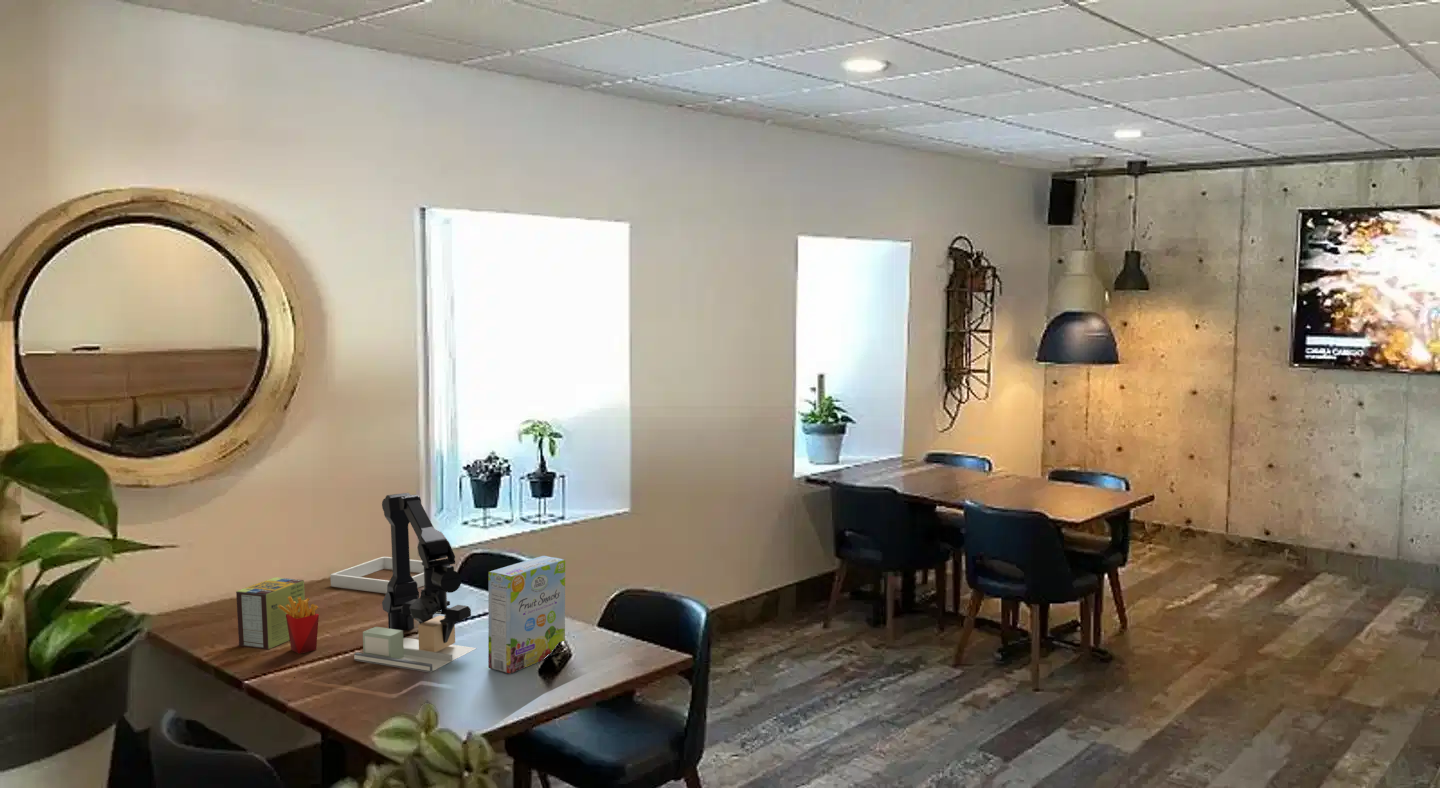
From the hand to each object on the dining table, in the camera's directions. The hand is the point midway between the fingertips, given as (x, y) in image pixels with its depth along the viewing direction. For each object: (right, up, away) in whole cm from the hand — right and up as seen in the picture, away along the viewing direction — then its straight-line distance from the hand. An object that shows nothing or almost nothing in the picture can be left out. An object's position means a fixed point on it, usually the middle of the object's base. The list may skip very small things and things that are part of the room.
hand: (437, 641), depth 294 cm
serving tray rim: (-34, +4, +73) cm, 81 cm away
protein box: (-49, -3, +13) cm, 51 cm away
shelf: (-5, -4, -3) cm, 7 cm away
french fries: (-37, -3, +2) cm, 37 cm away
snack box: (+26, -4, -6) cm, 27 cm away
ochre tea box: (0, -1, 0) cm, 1 cm away
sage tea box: (-13, -3, -5) cm, 14 cm away
